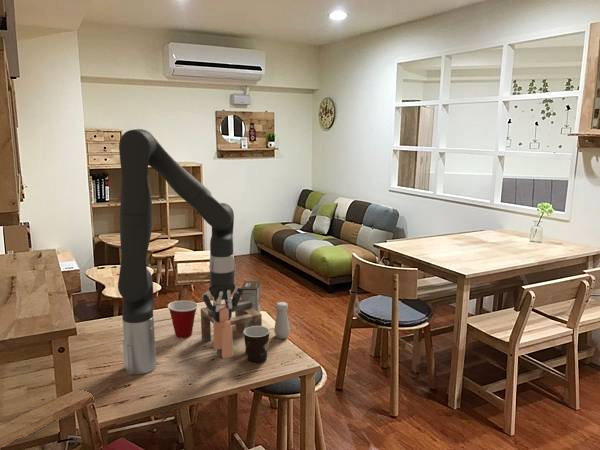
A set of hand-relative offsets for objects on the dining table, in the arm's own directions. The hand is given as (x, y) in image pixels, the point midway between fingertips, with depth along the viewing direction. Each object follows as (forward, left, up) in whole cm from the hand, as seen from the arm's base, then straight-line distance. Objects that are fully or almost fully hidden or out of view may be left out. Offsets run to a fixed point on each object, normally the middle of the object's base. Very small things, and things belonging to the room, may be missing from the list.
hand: (222, 320), depth 157 cm
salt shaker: (+27, +9, -16) cm, 33 cm away
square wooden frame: (+9, +14, -16) cm, 23 cm away
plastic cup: (-3, +29, -16) cm, 33 cm away
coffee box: (+23, +25, -16) cm, 38 cm away
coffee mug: (+10, -2, -16) cm, 19 cm away
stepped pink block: (0, 0, -11) cm, 11 cm away
